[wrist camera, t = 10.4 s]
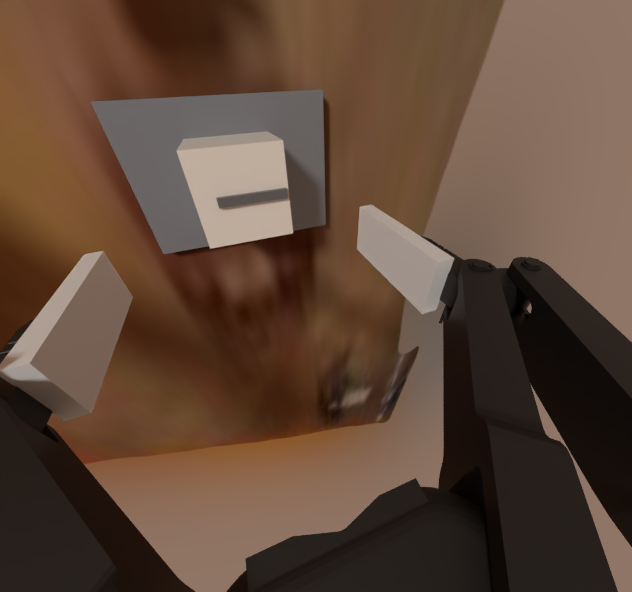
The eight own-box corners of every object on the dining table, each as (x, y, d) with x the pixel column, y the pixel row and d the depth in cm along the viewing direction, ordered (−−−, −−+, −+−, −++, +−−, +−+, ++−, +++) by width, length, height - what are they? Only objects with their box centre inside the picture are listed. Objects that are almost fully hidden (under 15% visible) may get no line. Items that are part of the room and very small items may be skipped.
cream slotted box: (209, 221, 29) (210, 250, 23) (183, 139, 24) (175, 151, 18) (278, 210, 30) (294, 234, 25) (267, 131, 25) (284, 140, 20)
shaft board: (165, 248, 30) (157, 274, 26) (96, 101, 21) (67, 102, 17) (321, 220, 35) (338, 238, 30) (318, 89, 26) (340, 87, 21)
